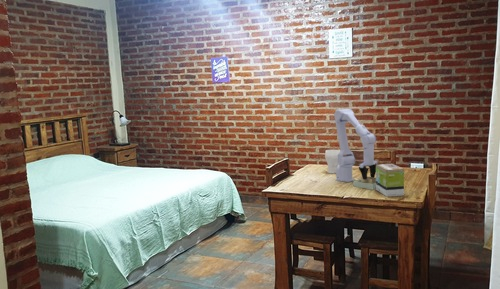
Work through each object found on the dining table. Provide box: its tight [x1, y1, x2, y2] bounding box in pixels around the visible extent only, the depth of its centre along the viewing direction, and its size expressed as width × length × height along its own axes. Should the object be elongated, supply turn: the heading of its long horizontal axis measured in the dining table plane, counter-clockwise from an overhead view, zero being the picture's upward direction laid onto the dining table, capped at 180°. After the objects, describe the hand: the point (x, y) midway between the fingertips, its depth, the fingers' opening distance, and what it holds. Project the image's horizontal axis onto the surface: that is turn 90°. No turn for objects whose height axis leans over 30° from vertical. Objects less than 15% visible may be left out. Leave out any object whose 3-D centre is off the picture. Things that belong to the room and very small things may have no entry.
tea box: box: [375, 163, 405, 198], centre depth 231 cm, size 15×10×15 cm, turn 5°
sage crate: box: [352, 178, 376, 191], centre depth 249 cm, size 13×11×3 cm
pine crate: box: [360, 175, 376, 184], centre depth 249 cm, size 7×5×4 cm
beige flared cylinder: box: [324, 149, 340, 174], centre depth 291 cm, size 11×11×15 cm
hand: (368, 178), depth 249 cm, fingers open, 7 cm apart
